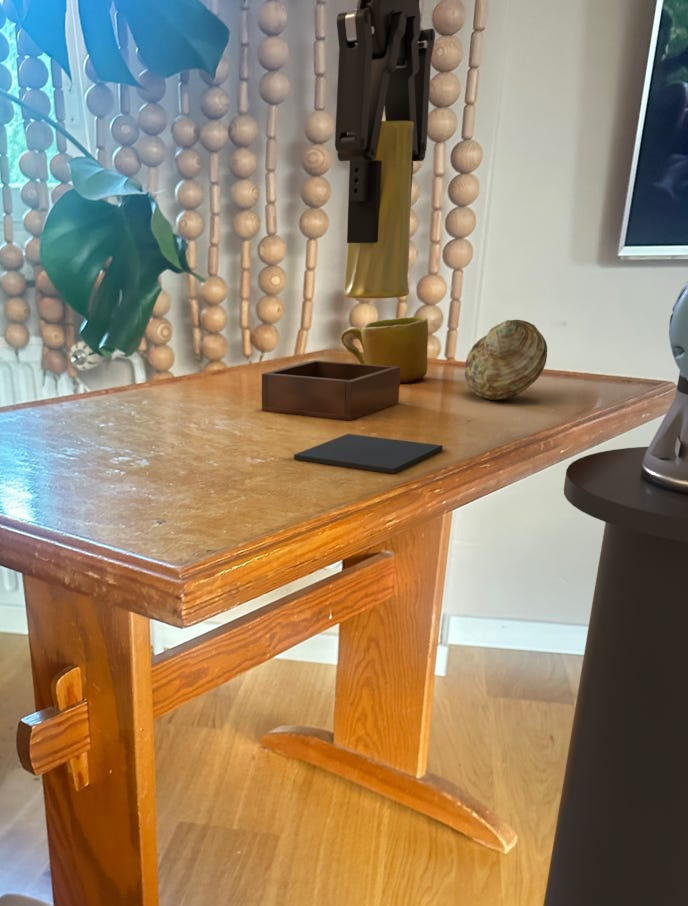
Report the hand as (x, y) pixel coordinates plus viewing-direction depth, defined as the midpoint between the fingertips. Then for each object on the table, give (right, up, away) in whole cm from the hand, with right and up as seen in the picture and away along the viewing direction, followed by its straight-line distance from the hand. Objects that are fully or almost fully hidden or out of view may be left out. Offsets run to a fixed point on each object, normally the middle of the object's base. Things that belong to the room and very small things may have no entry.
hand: (378, 240), depth 85 cm
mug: (+10, +1, +50) cm, 51 cm away
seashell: (+22, -6, +34) cm, 41 cm away
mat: (+1, -18, +8) cm, 20 cm away
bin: (0, -7, +32) cm, 32 cm away
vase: (0, -4, +2) cm, 5 cm away
